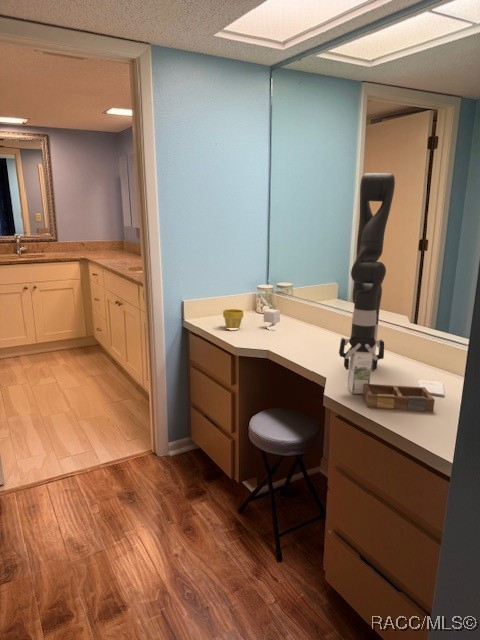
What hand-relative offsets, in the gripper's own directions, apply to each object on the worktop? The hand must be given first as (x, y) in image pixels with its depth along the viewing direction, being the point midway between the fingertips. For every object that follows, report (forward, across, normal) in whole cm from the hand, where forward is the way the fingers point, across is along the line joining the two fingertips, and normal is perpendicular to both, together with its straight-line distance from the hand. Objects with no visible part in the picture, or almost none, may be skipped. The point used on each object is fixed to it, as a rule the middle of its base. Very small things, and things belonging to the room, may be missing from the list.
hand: (359, 369), depth 151 cm
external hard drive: (+9, -26, -7) cm, 28 cm away
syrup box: (+8, 0, 0) cm, 8 cm away
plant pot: (+8, +53, -78) cm, 95 cm away
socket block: (+8, -11, +8) cm, 16 cm away
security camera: (+8, +33, -83) cm, 90 cm away
